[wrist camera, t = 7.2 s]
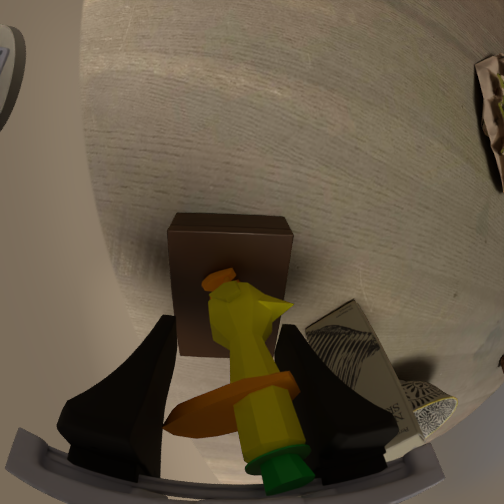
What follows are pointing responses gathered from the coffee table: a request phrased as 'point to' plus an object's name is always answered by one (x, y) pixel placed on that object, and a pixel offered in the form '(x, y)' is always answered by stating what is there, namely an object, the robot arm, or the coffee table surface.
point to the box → (365, 370)
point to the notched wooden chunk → (502, 363)
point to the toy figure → (249, 389)
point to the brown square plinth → (219, 258)
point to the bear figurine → (493, 105)
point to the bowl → (429, 404)
